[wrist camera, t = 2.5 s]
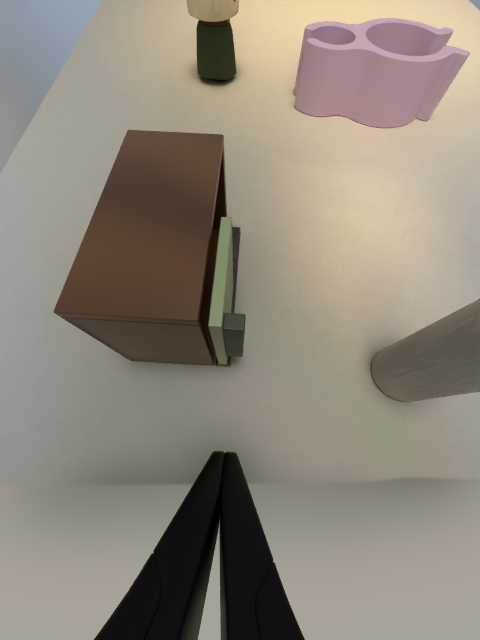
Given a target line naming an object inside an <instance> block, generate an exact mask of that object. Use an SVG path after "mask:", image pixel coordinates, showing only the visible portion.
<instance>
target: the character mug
mask: <svg viewBox="0 0 480 640" xmlns="http://www.w3.org/2000/svg"><path fill="white" fill-rule="evenodd" d="M187 7H188V12H189V14H190V15H191V16H192V17H194V18H196V19H199V21H198V24H197V68H198V74H199V75H200V76H202V77H204V78H210V79H216V80H217V81H219V79H224V80H228V79H230V78H232V77H233V76H234V75H235V74H236V66H235V52H234V42H233V33H232V28H231V25H230V18H231V17H233V16H235V15H236V14H237V13H238V8H239V0H187Z"/></svg>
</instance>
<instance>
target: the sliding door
mask: <svg viewBox="0 0 480 640" xmlns="http://www.w3.org/2000/svg"><path fill="white" fill-rule="evenodd" d="M232 296H233V248H232V218H231V217H221V222H220V231H219V239H218V247H217V256H216V264H215V273H214V281H213V289H212V298H211V306H210V315H209V323H208V327H209V330H210V334H211V337H212V341H213V345H214V348H215V352H216V355H217V359H218V363H219V364H227V359H228V356H238V357H242V354H243V343H244V332H245V314H232V313H231V308H232Z"/></svg>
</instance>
